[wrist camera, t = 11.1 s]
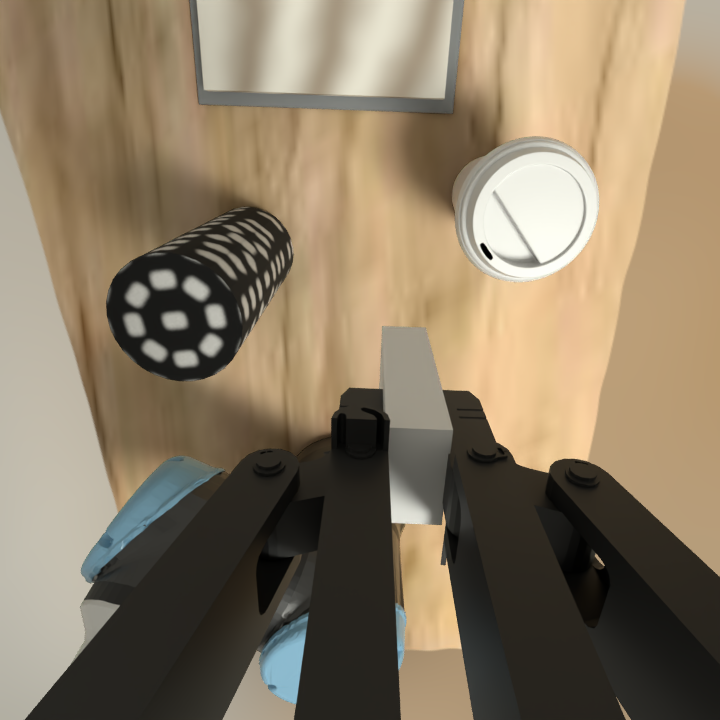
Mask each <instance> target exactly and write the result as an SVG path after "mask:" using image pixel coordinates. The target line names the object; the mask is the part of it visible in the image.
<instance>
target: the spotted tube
mask: <svg viewBox="0 0 720 720" xmlns="http://www.w3.org/2000/svg"><path fill="white" fill-rule="evenodd" d="M292 263H293V245H292V241H291V238H290V236H289V234H288V232H287V230H286V228H285V227H284V226H283V224H282V223H281V222H280V221H279V220H278V219H277V218H276V217H274V216H273V215H271V214H270V213H268V212H266V211H264V210H261V209H258V208H253V207H241V208H236V209H233V210H231V211H229V212H227V213H225V214H223V215H221V216H219V217H217V218H215V219H213V220H211V221H209V222H207V223H205V224H203V225H201V226H199V227H197V228H195V229H193V230H191V231H189V232H187V233H185V234H183V235H181V236H179V237H177V238H175V239H173V240H171V241H169V242H167V243H166V244H164V245H162V246H160V247H158V248H156V249H154V250H152V251H150V252H148V253H146V254H144V255H142V256H140V257H138V258H136V259H134V260H132V261H130V262H129V263H128V264H127V265H125V266H124V267H123V268H122V269H120V271H119V272H118V273H117V275H116V276H115V277H114V279H113V281H112V283H111V285H110V288H109V290H108V295H107V301H106V308H107V318H108V322H109V326H110V329H111V331H112V333H113V335H114V338H115V340H116V341H117V343H118V344H119V346H120V347H121V348H122V350H123V351H124V352H125V353H126V354H127V355H128V356H129V357H130V358H131V360H133V361H134V362H135V363H137V364H138V365H139V366H140V367H142V368H143V369H145V370H147V371H149V372H151V373H152V374H154V375H157V376H160V377H163V378H166V379H170V380H176V381H196V380H201V379H205V378H208V377H210V376H213V375H215V374H216V373H218V372H219V371H221V370H222V369H224V368H225V367H226V366H227V365H228V364H229V363H230V362H231V361H232V360H233V358H234V356H235V355H236V353H237V352H238V350H239V349H240V347H241V346H242V344H243V343H244V341H245V339H246V338H247V336H248V335H249V333H250V332H251V330H252V329H253V327H254V326H255V324H256V323H257V321H258V319H259V318H260V316H261V315H262V313H263V312H264V310H265V309H266V307H267V306H268V304H269V302H270V301H271V299H272V298H273V296H274V295H275V293H276V292H277V290H278V289H279V287H280V286H281V284H282V282H283V281H284V279H285V278H286V276H287V274H288V273H289V271H290V269H291V266H292Z"/></svg>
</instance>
